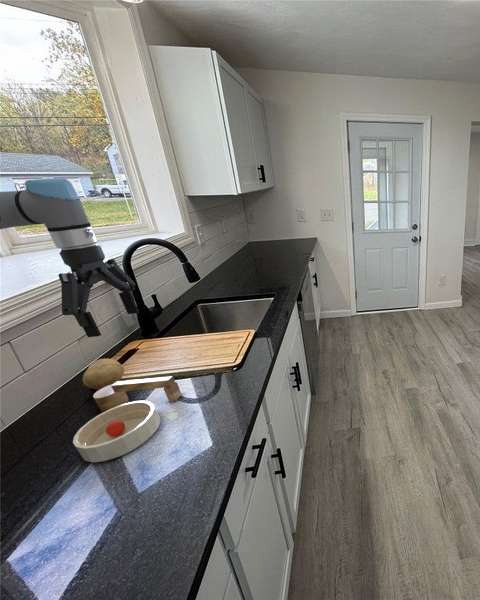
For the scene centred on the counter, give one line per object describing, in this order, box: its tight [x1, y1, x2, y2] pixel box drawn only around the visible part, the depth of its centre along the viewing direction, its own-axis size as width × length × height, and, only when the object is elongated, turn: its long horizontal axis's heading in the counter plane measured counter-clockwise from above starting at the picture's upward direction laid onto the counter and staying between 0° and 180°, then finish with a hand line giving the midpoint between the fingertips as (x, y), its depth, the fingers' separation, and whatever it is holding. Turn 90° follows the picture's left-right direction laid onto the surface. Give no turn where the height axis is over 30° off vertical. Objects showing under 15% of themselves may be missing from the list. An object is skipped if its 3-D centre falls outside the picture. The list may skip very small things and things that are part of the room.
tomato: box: [106, 421, 125, 436], centre depth 79 cm, size 4×4×4 cm
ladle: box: [92, 375, 183, 413], centre depth 91 cm, size 22×6×7 cm, turn 94°
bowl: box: [72, 400, 161, 463], centre depth 78 cm, size 16×16×5 cm
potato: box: [82, 358, 125, 391], centre depth 99 cm, size 10×14×8 cm
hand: (115, 323), depth 84 cm, fingers open, 13 cm apart
